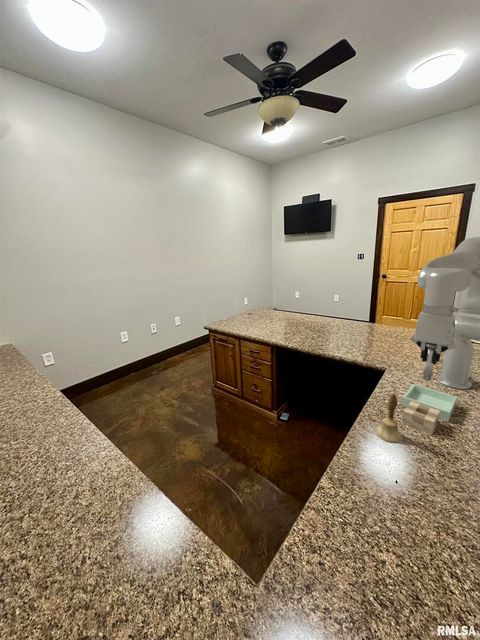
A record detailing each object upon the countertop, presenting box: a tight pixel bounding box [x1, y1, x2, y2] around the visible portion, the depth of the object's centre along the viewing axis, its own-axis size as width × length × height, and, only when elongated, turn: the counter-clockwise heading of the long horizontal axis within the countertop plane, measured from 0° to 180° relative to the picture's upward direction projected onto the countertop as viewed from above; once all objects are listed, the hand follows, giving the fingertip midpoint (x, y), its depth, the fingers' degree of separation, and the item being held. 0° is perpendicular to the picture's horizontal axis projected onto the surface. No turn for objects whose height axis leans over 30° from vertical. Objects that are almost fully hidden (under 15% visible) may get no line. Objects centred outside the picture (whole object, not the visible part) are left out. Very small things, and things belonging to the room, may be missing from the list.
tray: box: [401, 383, 458, 423], centre depth 103 cm, size 14×15×4 cm
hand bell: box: [374, 393, 403, 444], centre depth 87 cm, size 8×8×16 cm
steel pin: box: [422, 343, 437, 381], centre depth 88 cm, size 4×4×13 cm
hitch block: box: [401, 401, 440, 435], centre depth 94 cm, size 9×9×5 cm
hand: (429, 361), depth 88 cm, fingers closed on steel pin, 2 cm apart
